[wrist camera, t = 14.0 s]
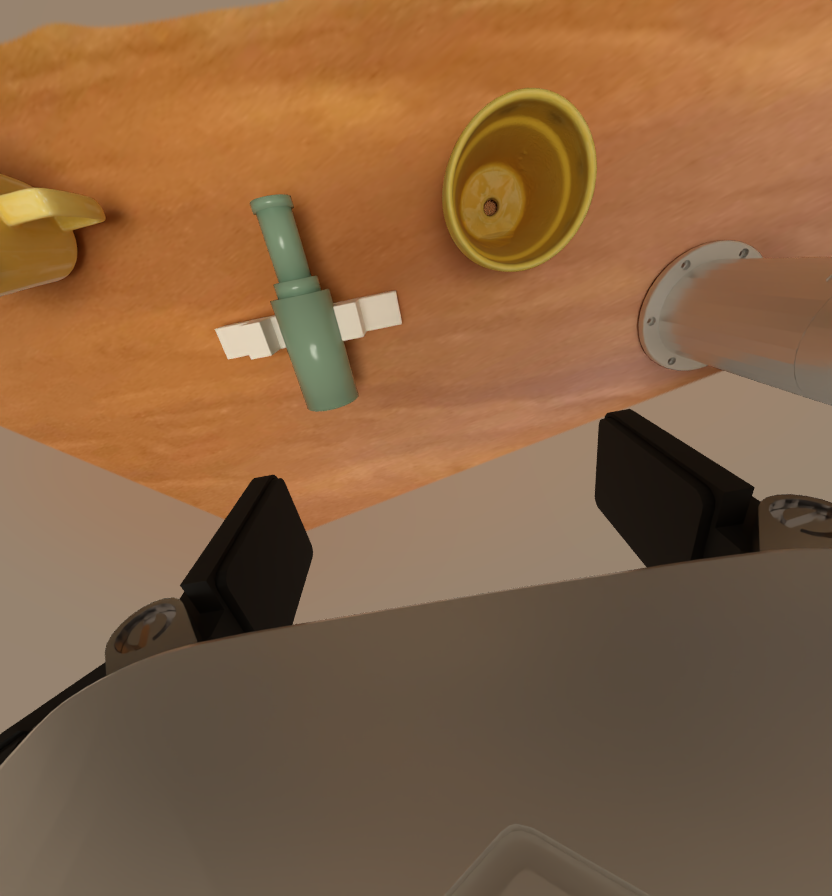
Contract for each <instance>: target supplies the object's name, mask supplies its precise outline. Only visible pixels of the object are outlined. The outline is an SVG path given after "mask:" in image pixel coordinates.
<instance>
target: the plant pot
mask: <svg viewBox="0 0 832 896" xmlns="http://www.w3.org/2000/svg"><path fill="white" fill-rule="evenodd" d="M596 174H597V161H596V151H595V145H594V142H593V138H592V135H591V132H590V130H589V127H588V125H587V123H586V121H585V119H584V118H583V116H582V115H581V114H580V112H579V111H578V110H577V109H576V107H575V106H574V105H573V104H572V103H571V102H569V101H568V100H567V99H565V98H564V97H562V96H561V95H559V94H557V93H554V92H552V91H549V90H546V89H540V88H524V89H518V90H514V91H511V92H509V93H506V94H504V95H502V96H500V97H498V98H496V99H495V100H493V101H492V102H490V103H489V104H487V105H486V106H485V107H484V108H483V109H482V110H480V111H479V112H478V113H477V114H476V115H475V116H474V117H473V119H472V120H471V121H470V122H469V124H468V125H467V126H466V128H465V129H464V131H463V132H462V134H461V136H460V137H459V139H458V141H457V143H456V145H455V147H454V149H453V151H452V153H451V156H450V159H449V161H448V164H447V168H446V171H445V176H444V181H443V189H442V205H443V213H444V218H445V222H446V225H447V228H448V231H449V233H450V235H451V237H452V239H453V241H454V243H455V244H456V246H457V247H458V248H459V249H460V251H461V252H462V253H463V254H464V255H465V256H466V257H468V258H469V259H470V260H471V261H473V262H475V263H476V264H478V265H480V266H482V267H485V268H488V269H492V270H496V271H503V272H517V271H523V270H527V269H531V268H533V267H536V266H538V265H540V264H542V263H544V262H546V261H548V260H549V259H551V258H552V257H553V256H555V255H556V254H557V253H559V252H560V251H561V250H562V249H563V248H564V247H565V246H566V245H567V244H568V243H569V241H570V240H571V239H572V238H573V237H574V235H575V234H576V232H577V231H578V229H579V227H580V226H581V224H582V222H583V220H584V218H585V216H586V214H587V212H588V209H589V207H590V204H591V200H592V197H593V193H594V189H595V182H596ZM488 200H494V201H495V202H496V204H497V210H496V212H495V213H494V214H493V215H491V216H488V215H486V214H485V213H484V204H485V203H486V201H488Z"/></svg>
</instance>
